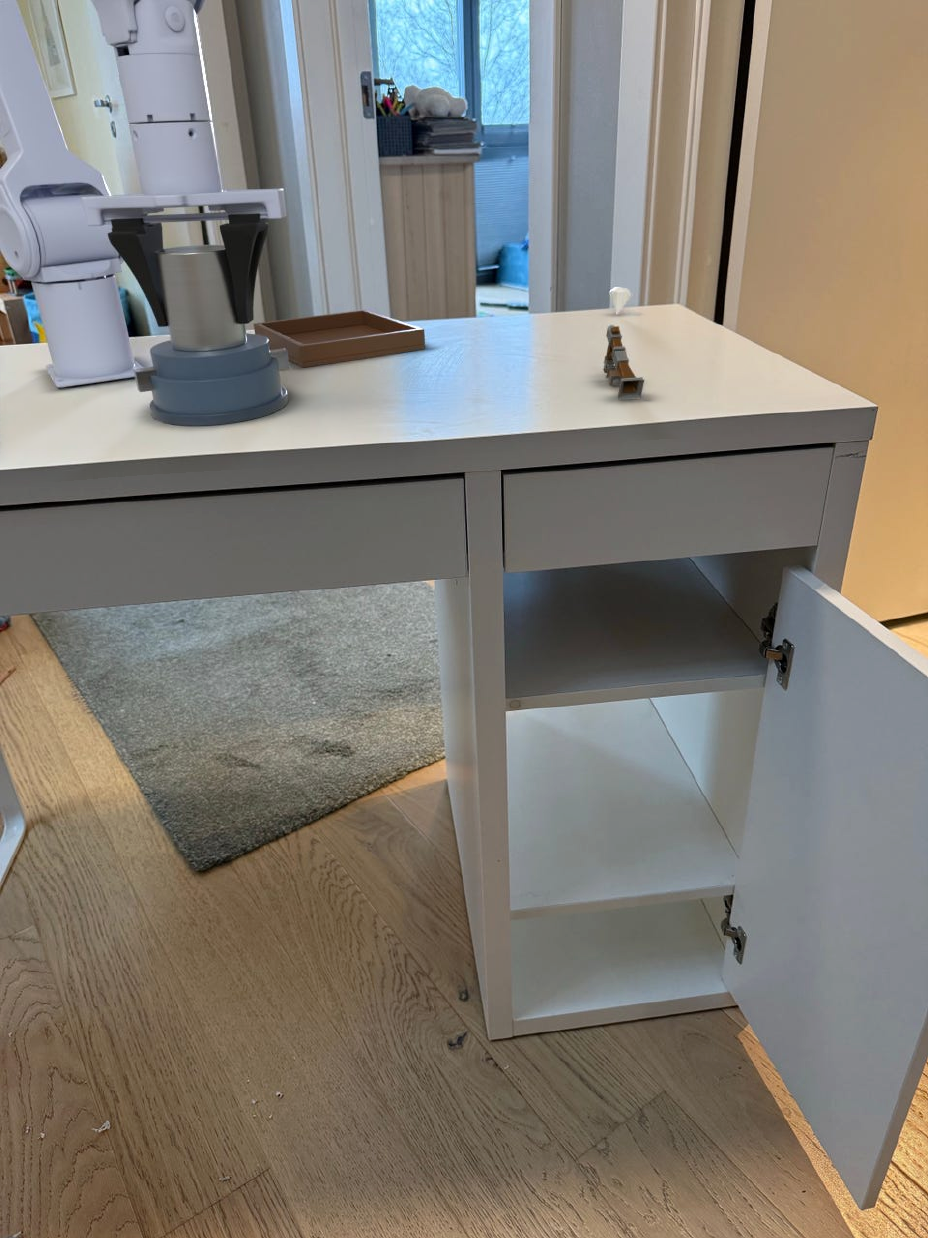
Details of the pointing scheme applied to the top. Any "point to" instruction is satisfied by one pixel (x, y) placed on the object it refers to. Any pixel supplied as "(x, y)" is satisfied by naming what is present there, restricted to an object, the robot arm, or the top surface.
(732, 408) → the top surface
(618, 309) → the gemstone
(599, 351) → the top surface
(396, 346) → the tray
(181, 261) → the cup
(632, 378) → the brown grey angular piece
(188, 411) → the lidded cooking pot
